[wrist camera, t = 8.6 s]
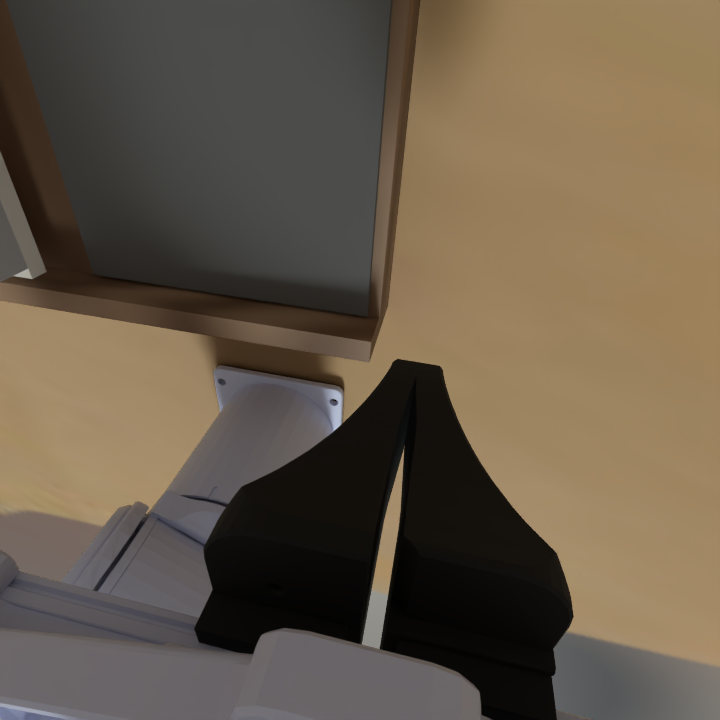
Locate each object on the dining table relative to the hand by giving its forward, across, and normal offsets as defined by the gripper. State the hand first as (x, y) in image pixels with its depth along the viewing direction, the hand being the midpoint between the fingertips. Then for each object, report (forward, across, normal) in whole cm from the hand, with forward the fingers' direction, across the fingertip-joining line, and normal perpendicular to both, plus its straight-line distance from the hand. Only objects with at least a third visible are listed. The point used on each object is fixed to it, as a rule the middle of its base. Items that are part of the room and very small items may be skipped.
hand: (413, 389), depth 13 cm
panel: (+6, +9, -5) cm, 12 cm away
